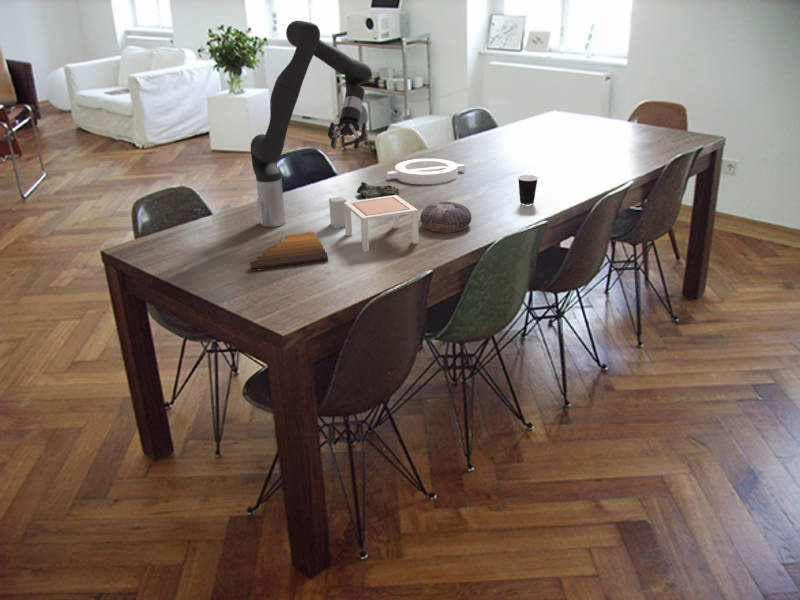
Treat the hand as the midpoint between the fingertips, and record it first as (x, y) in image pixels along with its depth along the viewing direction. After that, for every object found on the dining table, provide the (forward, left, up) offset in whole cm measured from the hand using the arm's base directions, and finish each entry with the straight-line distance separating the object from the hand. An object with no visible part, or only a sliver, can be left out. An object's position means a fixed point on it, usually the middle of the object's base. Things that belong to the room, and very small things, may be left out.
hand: (344, 148), depth 289 cm
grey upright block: (-7, -9, -26) cm, 29 cm away
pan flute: (-33, -30, -27) cm, 52 cm away
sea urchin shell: (+28, -28, -27) cm, 48 cm away
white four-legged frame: (+2, -30, -26) cm, 40 cm away
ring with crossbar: (+50, +40, -27) cm, 69 cm away
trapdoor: (+2, -31, -15) cm, 34 cm away
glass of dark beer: (+68, -18, -26) cm, 76 cm away
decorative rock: (+21, +22, -27) cm, 40 cm away
